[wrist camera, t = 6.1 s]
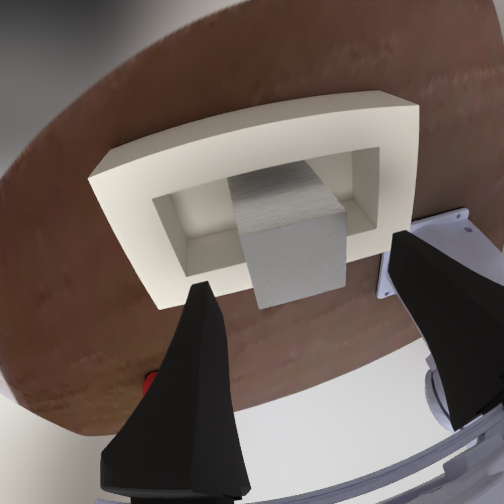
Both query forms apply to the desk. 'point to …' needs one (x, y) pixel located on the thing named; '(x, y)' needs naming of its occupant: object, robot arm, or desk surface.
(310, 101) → the cream rectangular tray
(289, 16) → the desk surface
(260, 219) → the grey rectangular block
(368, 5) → the desk surface
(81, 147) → the desk surface
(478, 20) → the desk surface
